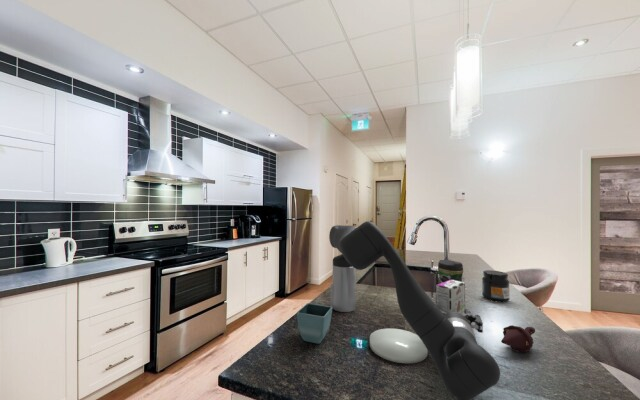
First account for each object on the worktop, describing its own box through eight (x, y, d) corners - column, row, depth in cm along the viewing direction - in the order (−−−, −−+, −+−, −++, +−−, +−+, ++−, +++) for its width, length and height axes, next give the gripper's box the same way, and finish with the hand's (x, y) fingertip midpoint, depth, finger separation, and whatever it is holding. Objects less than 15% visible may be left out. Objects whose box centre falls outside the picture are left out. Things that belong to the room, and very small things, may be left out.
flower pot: (332, 335, 82) (332, 306, 83) (323, 349, 74) (324, 316, 74) (306, 330, 85) (307, 302, 86) (295, 343, 77) (296, 312, 77)
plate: (364, 355, 71) (364, 348, 71) (374, 330, 86) (374, 325, 86) (428, 369, 65) (428, 361, 65) (427, 340, 80) (427, 334, 80)
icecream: (520, 339, 68) (549, 333, 75) (492, 321, 75) (521, 317, 81) (512, 363, 69) (541, 355, 76) (485, 343, 76) (514, 337, 82)
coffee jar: (467, 306, 109) (466, 261, 110) (454, 309, 106) (454, 263, 107) (447, 299, 118) (446, 257, 119) (434, 301, 115) (434, 259, 115)
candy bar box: (450, 327, 89) (450, 278, 90) (465, 333, 85) (466, 282, 86) (434, 337, 82) (435, 284, 82) (450, 343, 78) (451, 288, 79)
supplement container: (512, 304, 113) (512, 276, 113) (483, 300, 117) (483, 273, 118) (507, 297, 122) (506, 271, 123) (480, 294, 127) (480, 269, 127)
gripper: (490, 323, 63) (476, 301, 78) (426, 313, 68) (425, 294, 83) (490, 354, 63) (476, 326, 78) (426, 342, 68) (425, 318, 83)
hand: (449, 310), depth 81 cm, fingers open, 8 cm apart
